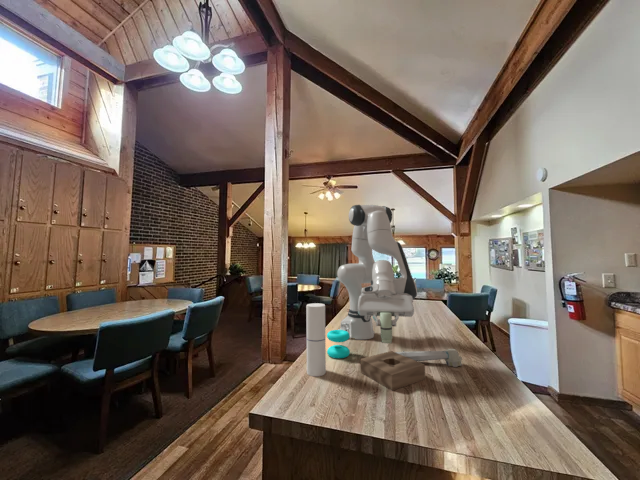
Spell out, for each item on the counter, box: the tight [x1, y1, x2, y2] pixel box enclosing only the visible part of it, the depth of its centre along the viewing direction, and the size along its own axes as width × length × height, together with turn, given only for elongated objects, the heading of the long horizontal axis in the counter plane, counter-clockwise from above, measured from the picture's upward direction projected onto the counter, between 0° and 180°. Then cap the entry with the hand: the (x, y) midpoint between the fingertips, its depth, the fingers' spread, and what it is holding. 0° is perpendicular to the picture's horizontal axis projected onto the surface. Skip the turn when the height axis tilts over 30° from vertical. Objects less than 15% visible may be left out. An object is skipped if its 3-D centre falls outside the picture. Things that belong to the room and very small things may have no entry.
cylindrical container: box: [305, 302, 327, 377], centre depth 104 cm, size 7×7×25 cm
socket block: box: [360, 350, 426, 391], centre depth 100 cm, size 16×16×5 cm
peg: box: [379, 312, 393, 344], centre depth 98 cm, size 4×4×10 cm
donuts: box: [326, 329, 351, 359], centre depth 121 cm, size 10×10×10 cm
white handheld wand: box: [394, 348, 463, 368], centre depth 111 cm, size 5×7×25 cm
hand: (386, 325), depth 97 cm, fingers closed on peg, 4 cm apart
